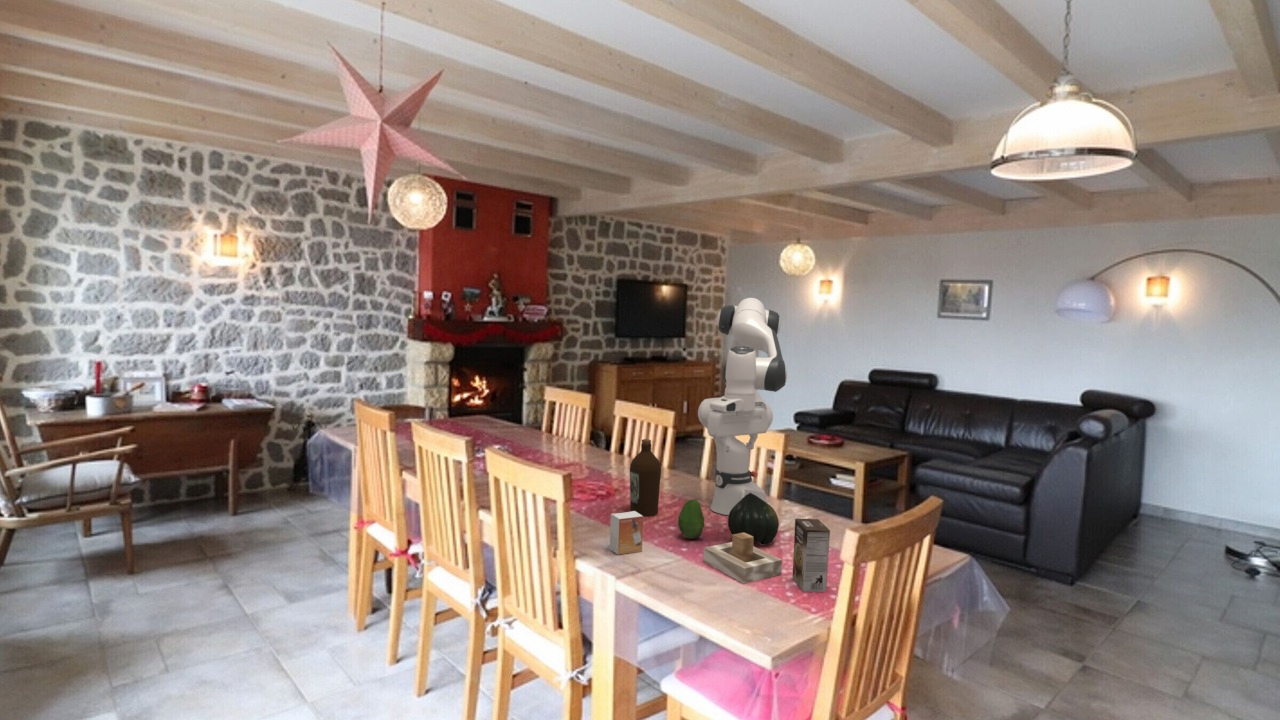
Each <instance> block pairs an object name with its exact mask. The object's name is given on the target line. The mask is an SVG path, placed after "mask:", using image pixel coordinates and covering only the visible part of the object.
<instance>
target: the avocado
mask: <svg viewBox="0 0 1280 720" xmlns="http://www.w3.org/2000/svg"><path fill="white" fill-rule="evenodd" d="M677 520H678V522H677V526H678V529H679V531H680V533H681V534H682V535H683V536H684V537H685V538H687V539H689V540H695V539H696V538H699V537H700V535H701V534H702V533H703V530H704V527H705V517H704V514H703V509H702V506H701V503H700V502H699V501H698V499H689V500H687V501H686V502H685V503H684V505H683V506H682V508H681V510H680V513H679V515H678V519H677Z"/></svg>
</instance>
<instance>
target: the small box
mask: <svg viewBox="0 0 1280 720" xmlns="http://www.w3.org/2000/svg"><path fill="white" fill-rule="evenodd" d="M609 523H610V526H609V527H610V528H609V531H610V532H609V550H610V551H612V552H613V553H614V554H616V555H618V556H619V555H625V554H633V553H641V552H642V551H643V535H644V517H643V516H642V515H641V514H639V513H637V512H636V511H632V512H630V511H626V512H615V513H610V522H609Z"/></svg>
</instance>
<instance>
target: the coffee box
mask: <svg viewBox="0 0 1280 720" xmlns="http://www.w3.org/2000/svg"><path fill="white" fill-rule="evenodd" d="M794 520H795V521H794V535H793V536H794V541H793V560H792V563H793V564H792V566H793V567H792V579H793V580H794V582H795V583H796V585H797V586H798V587H799V589H801V591H802V592H803V593H826V592H827V585H828V584H827V583H828V567H829V555H830V552H829V551H830V538H831V530H830V528H829V527H827V526H826V525H825V524H824V523H823V522H822V521H821V520H820V519H818V518H813V519H812V518H795V519H794Z"/></svg>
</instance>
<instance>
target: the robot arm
mask: <svg viewBox="0 0 1280 720" xmlns="http://www.w3.org/2000/svg"><path fill="white" fill-rule="evenodd" d="M781 323H782V322H781V318H780V314H779V313H778V312H777V311H775V310H771V309H769V310H768V309H765V305H764V304H763V302H762V301H761V300H759V299H757V298H755V297H747V298H744V299H742V300H741V301H740V302H738V305H732V304H730V305H724V306H722V307H721V308H720V310H719V312H718V314H717V318H716V325H717V330H718V331H719V333H721V334H723V335H727V336H729V335H731V336H733V339H732V342H731V344H730V347H729V349H728V354H727V358H726V361H725V362H724V363H722V364H723V369H722V381H723V382H724V384H725V386H726V387H725V389H724V395H723V396H720V397H710V398H704V399H703V400H702V401H701V402H700V404H699V407H698V409H697V417H698V420H699V422H700V423H701V425H702V426H703V427H704V428H705V429H706V430H707V434H708V435H709V436H710V437H712V439H713V441H714V443H715V448H716V468H715V472H714V483H715V485H714V492H713V497H712V501H711V504H710V508H709V509H710V510H711V511H712V512H715V513H717V514H720V515H725V516H729V513H730V511H731V509H732V508H733V507H734V506H735V505H736V504H737V503H738V502H739V501H740V500H741V499H742V498H743V497H745V496H746V495H747V494H749V493H752V494H754V495H756V496H757V497H759V498H760V499H762V500H763V501H765V502H766V503H767V504H769V505H770V506H771V507H772V508H773V509H774V507H773V505H772V504H770V503H769V502H767V495H766V492H765V491H764V490H763V488H761V487H760V485H758V484H757V483H755V482H754V481H753V478H758V475H759V473H758V472H757V471H754V470H752V471H751V470H749V469H750V450H754V449H755V443H756V441H757V439H758V438H759V437H758V436H759V434H760V435H761V434H766V433H767V431H768V430H769V428H770V427H771V425H772V423H773V419H774V415H773V410H772V408H771V406H770V405H769V404H768V403H767V402H766V401H765V400H764V399H763V398H762V396H761V395H760V393H759V390H760V391H768V392H772V393H773V392H774V393H776V392H779V391H780V390H781V389H782V388H783V387H785V386H786V383H787V379H788V370H787V366H786V364H785V363H786V362H785V361H784V359H783V358H784V357H783V354H782V350H781V346H780V343H779V338H778V334H779V332H780V330H781V325H782V324H781ZM760 351H761V352H764V353H765V354H767V355H766V356H767V357H760V356H759V355H760V353H759V352H760ZM738 436H739V437H740V436H749V437H750V438H749V440H748V442H746V443H744V442H743V441H741V440H739V439H738V438H737V437H738ZM752 477H753V478H752Z"/></svg>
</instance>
